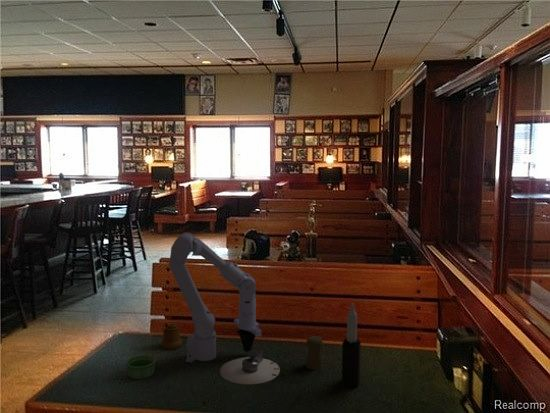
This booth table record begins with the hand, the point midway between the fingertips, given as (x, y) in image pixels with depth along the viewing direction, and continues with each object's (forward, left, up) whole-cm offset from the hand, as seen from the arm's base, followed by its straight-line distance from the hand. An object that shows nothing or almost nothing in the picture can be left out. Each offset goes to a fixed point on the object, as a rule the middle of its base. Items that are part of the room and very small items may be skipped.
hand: (247, 350), depth 157 cm
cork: (+24, +2, -3) cm, 24 cm away
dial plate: (+6, -10, -3) cm, 12 cm away
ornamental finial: (-30, -2, -3) cm, 31 cm away
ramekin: (-25, -24, -3) cm, 35 cm away
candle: (+37, -1, -3) cm, 37 cm away
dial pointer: (+6, -7, -1) cm, 9 cm away
